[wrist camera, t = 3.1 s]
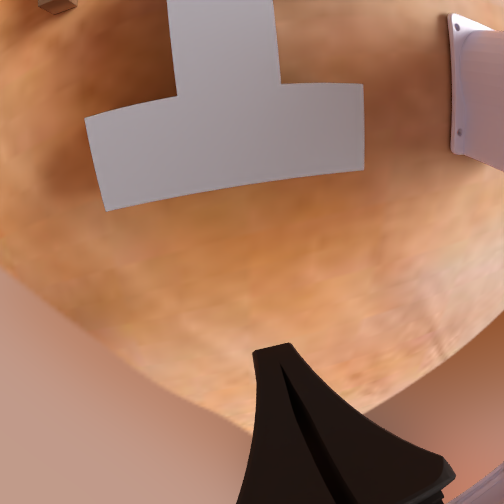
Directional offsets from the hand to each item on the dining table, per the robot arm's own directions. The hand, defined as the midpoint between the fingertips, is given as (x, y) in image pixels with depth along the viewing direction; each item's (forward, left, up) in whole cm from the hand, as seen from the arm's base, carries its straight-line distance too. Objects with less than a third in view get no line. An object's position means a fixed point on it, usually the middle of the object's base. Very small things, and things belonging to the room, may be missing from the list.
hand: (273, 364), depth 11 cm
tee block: (+11, 0, -8) cm, 13 cm away
